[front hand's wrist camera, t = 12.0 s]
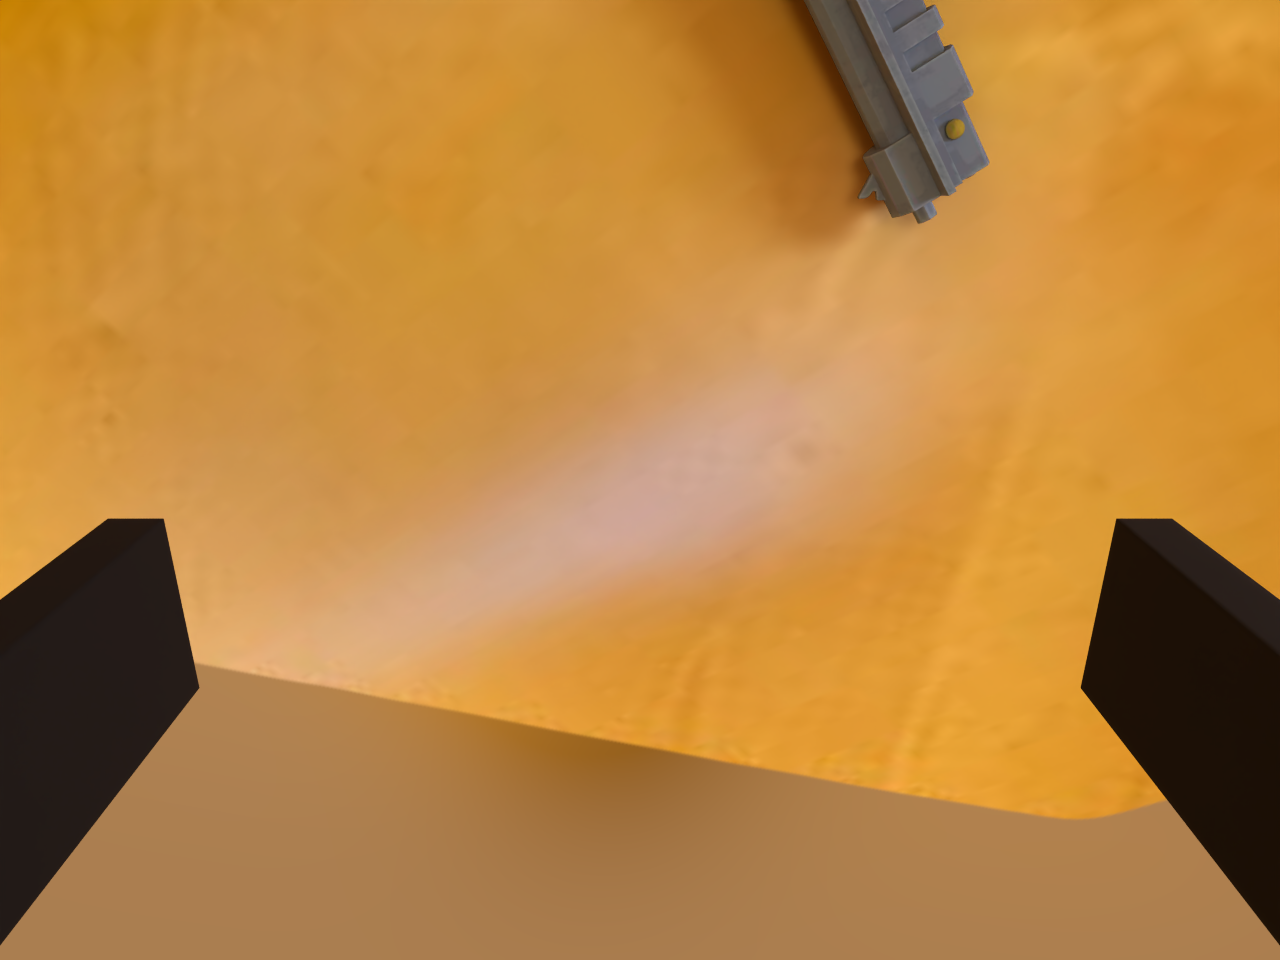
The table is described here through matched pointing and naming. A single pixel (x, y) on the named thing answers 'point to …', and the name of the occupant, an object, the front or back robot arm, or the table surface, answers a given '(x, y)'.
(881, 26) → the toy gun
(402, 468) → the table surface
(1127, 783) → the table surface
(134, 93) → the table surface
